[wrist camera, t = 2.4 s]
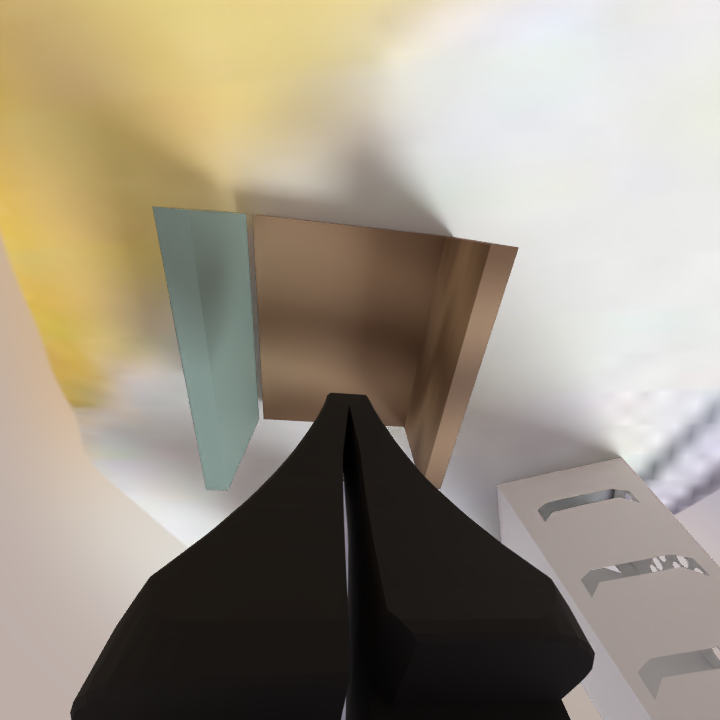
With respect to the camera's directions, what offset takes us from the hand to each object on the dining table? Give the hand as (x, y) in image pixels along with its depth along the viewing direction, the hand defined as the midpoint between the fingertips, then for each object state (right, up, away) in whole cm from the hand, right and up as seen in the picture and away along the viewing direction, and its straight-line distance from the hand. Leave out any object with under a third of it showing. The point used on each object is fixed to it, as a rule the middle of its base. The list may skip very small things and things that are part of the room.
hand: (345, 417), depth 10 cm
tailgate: (-6, +3, +6) cm, 9 cm away
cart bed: (0, +4, +8) cm, 9 cm away
